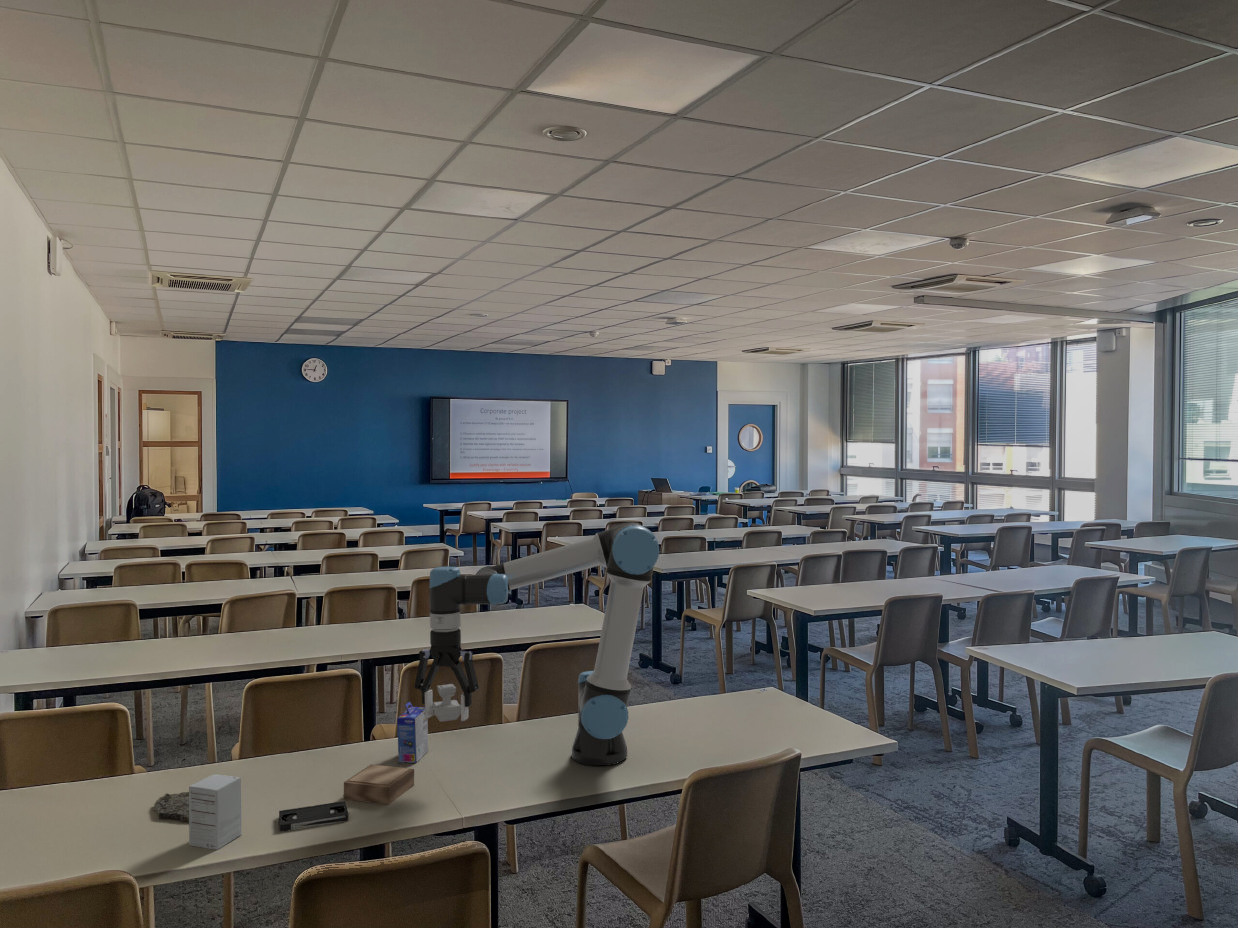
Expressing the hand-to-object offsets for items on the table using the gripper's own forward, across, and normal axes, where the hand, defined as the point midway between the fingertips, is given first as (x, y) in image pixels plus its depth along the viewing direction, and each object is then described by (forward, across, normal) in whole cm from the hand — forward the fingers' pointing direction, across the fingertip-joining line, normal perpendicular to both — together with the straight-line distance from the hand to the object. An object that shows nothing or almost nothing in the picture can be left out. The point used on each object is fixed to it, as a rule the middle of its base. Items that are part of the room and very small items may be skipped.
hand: (446, 717), depth 211 cm
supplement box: (+15, -33, -43) cm, 56 cm away
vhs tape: (+16, -19, -29) cm, 38 cm away
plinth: (+15, -13, -11) cm, 23 cm away
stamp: (+1, 0, 0) cm, 1 cm away
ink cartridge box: (+16, -17, +13) cm, 26 cm away
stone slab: (+15, -51, -32) cm, 62 cm away
